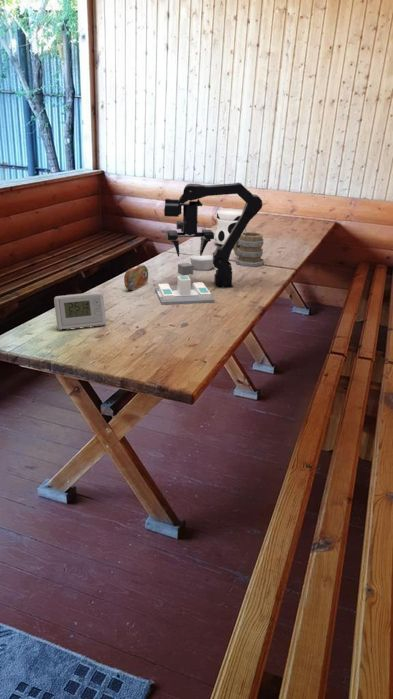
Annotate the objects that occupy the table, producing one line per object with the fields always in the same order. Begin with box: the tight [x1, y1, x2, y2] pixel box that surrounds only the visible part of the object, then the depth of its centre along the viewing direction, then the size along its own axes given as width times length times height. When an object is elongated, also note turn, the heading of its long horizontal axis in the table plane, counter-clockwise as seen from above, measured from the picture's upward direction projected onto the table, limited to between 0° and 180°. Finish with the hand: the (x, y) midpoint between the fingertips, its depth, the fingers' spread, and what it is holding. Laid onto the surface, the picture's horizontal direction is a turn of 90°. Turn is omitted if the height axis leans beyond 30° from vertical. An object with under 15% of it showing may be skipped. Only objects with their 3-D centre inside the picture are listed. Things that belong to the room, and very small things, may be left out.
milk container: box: [214, 208, 247, 247], centre depth 293 cm, size 17×17×18 cm
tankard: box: [232, 229, 264, 268], centre depth 262 cm, size 20×13×15 cm, turn 34°
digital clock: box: [53, 291, 107, 331], centre depth 180 cm, size 16×9×11 cm, turn 100°
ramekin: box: [189, 253, 214, 271], centre depth 251 cm, size 11×11×5 cm
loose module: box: [176, 275, 192, 295], centre depth 212 cm, size 4×6×6 cm, turn 12°
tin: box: [123, 264, 149, 291], centre depth 221 cm, size 15×3×8 cm, turn 154°
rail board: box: [154, 281, 215, 306], centre depth 213 cm, size 20×18×3 cm
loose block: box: [177, 262, 194, 276], centre depth 243 cm, size 5×5×4 cm
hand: (189, 256), depth 223 cm, fingers open, 9 cm apart
